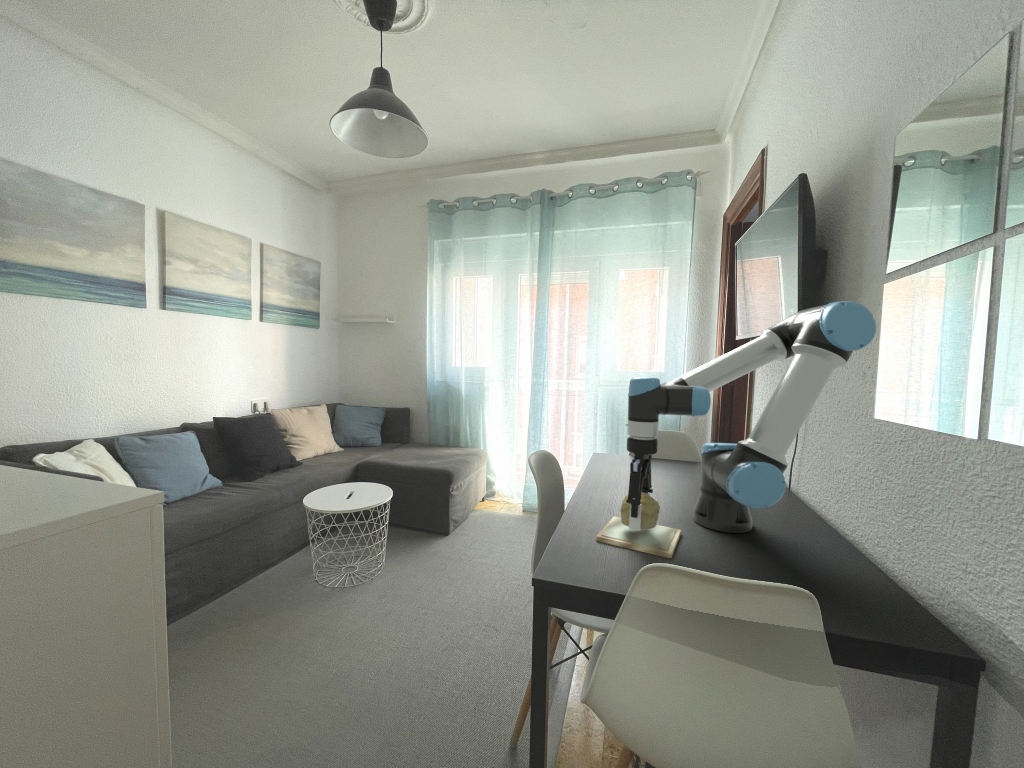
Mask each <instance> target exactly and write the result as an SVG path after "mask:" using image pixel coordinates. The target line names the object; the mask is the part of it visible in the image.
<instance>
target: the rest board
mask: <svg viewBox="0 0 1024 768" xmlns="http://www.w3.org/2000/svg"><path fill="white" fill-rule="evenodd" d="M621 521H622V520H621V516H619V517H618V516H613V517H612V518H611V519H610V520H609V521H608V522H607V523H606V525H605V526H604V527H603V528H602V529H601V530H600V531H599V532H598V533H597V535H596V537H595V541H596V542H599V543H603V544H608V545H612V546H617V547H620V548H624V549H629V550H634V551H637V552H643V553H645V554H650V555H654V556H659V557H662V558H667V559H670V558H671V559H672V557H673V556H674V552H675V550H676V548H677V546H678V542H679V540H680V537H681V535H682V529H678V528H674V527H669V526H663V525H658V524H656V526H655V527H654V528H652V529H641V530H640V531H638V530H633V529H629V527H628V526H626V525H624V524H622V522H621Z"/></svg>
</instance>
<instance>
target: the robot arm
mask: <svg viewBox="0 0 1024 768" xmlns="http://www.w3.org/2000/svg"><path fill="white" fill-rule="evenodd" d="M876 332H877V321H876V319H874V317H873V313H872V312H871V310H870V309H869V308H868V307H867V306H865V305H863V304H861V303H859V302H857V301H852V300H843V301H833V302H829V303H828V304H823V305H819V306H814V307H808V308H805V309H801V310H799V311H797V312H796V313H793V314H792V315H789V316H788V317H786V318H784V319H782V320H780V321H778V322H777V323H775V324H774V325H772V326H769V327H767V328H766V329H764V330H763V331H761V332H760V335H759V336H758V337H756V338H755V339H752V340H750V341H748V342H747V343H744V344H742V345H740V346H739V347H736V348H734V349H733V350H731V351H729V352H727V353H724V354H723V355H720V356H718V357H717V358H714V359H712V360H711V361H709V362H707V363H704V364H703V365H700V366H699V367H696V368H695V369H692V370H691V371H689V372H687V373H684V374H683V375H680V376H679V377H677V378H675V379H673V380H671V381H669V382H662V383H661V381H660V379H659V378H658V377H647V376H646V377H642V376H641V377H639V376H638V377H637V376H636V377H632V378H631V379H630V380H629V386H628V394H627V396H628V400H627V407H628V408H627V410H628V411H627V422H626V423H625V426H626V427H627V435H628V436H627V438H626V451H627V452H629V453H631V454H632V453H633V455H634V456H633V459H632V460H631V461H630V463H629V467H630V468H629V481H628V482H629V483H628V492H627V493H628V494H627V495H628V500H626V503H630V509H629V529H633V530H638V531H640V530H641V502H640V501H641V494H642V493H643V494H646V495H649V496H651V495H650V494H653V493H654V489H653V488H652V487H653V486H652V458H653V455H655V454H657V453H658V438H657V437H659V417H660V415H662V416H665V415H670V416H686V417H688V416H689V417H691V416H692V417H696V416H698V417H700V416H706V415H707V414H708V413H709V412H710V408H711V405H712V403H711V402H712V401H711V399H712V398H711V394H710V392H713V391H714V390H717V389H718V388H721V387H722V386H725V385H727V384H730V382H733V381H735V380H737V379H739V378H741V377H743V376H745V375H748V374H749V373H751V372H753V371H755V370H757V369H760V368H761V367H763V366H765V365H767V364H770V363H772V362H774V361H779V362H780V361H781V362H782V361H784V360H786V359H789V358H791V357H793V358H792V359H791V361H790V362H789V364H788V366H787V368H786V370H785V372H784V373H783V375H782V377H781V378H780V381H779V382H778V384H777V386H776V388H775V389H774V391H773V393H772V395H771V396H770V398H769V400H768V402H767V404H766V406H765V407H764V409H763V411H762V413H761V414H760V417H759V418H758V420H757V422H756V423H755V425H754V427H753V429H752V431H751V432H750V433H749V436H748V438H746V439H743V440H740V441H738V442H737V443H730V442H728V443H727V442H706V443H703V444H702V447H701V453H700V456H701V457H700V458H701V460H700V463H701V464H700V491H699V496H698V498H697V500H696V503H695V505H694V508H693V512H692V519H693V521H694V522H695V523H696V524H698V525H700V526H701V527H704V528H706V529H710V530H714V531H719V532H724V533H732V534H734V533H735V534H742V533H743V534H744V533H748V532H750V531H752V530H753V518H752V515H751V514H752V513H751V510H750V508H753V509H763V508H764V509H765V508H768V507H771V506H773V505H775V504H776V503H778V502H779V501H780V500H781V499H782V498H783V497H784V494H785V491H786V490H787V489H786V487H787V483H786V480H785V479H786V477H785V476H784V473H785V471H787V468H788V462H787V460H786V454H787V452H788V451H789V449H790V447H791V445H792V444H793V442H794V440H795V439H796V437H797V435H798V433H799V432H800V430H801V428H802V426H803V424H804V423H805V421H806V419H807V417H808V416H809V414H810V412H811V410H812V409H813V407H814V405H815V403H816V401H817V400H818V398H819V397H820V395H821V392H823V389H824V388H825V386H826V385H827V382H828V381H829V379H830V377H831V375H832V374H833V372H834V370H835V369H838V368H840V367H844V366H845V365H847V363H848V361H849V359H851V357H852V354H853V353H854V351H859V350H862V349H863V348H865V347H867V346H868V345H870V344H871V342H872V341H873V340H874V339H875V335H876ZM633 498H634V499H633Z"/></svg>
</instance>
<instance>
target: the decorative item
mask: <svg viewBox="0 0 1024 768" xmlns="http://www.w3.org/2000/svg"><path fill="white" fill-rule="evenodd" d="M633 499H634V498H633ZM626 500H628V494H627V495H624V498H623V500H622V501H621V506H620V518H621V520H622V521H621V522H622V524H624V525H626V526H628V527H629V509H630V503H626ZM640 502H641V529H652V528H654V527H655V526H656V525H657V522H658V519H659V513H660V509H661V506H660V504H659V502H658V501H657V500H656V499H654V498H653V497H652V496H651V495H650V496H649V495H646V494H643V493H642V494H641V501H640Z"/></svg>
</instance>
